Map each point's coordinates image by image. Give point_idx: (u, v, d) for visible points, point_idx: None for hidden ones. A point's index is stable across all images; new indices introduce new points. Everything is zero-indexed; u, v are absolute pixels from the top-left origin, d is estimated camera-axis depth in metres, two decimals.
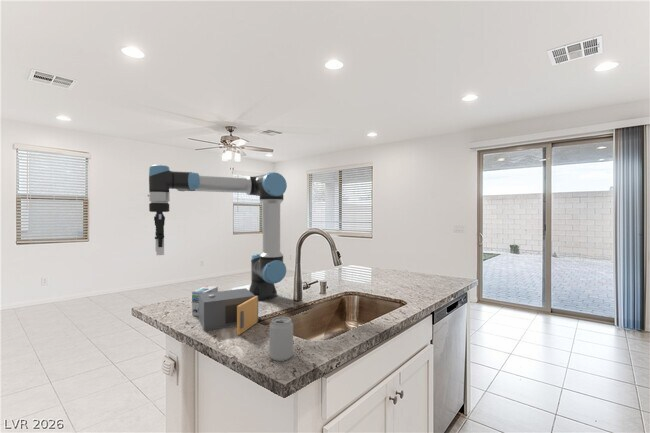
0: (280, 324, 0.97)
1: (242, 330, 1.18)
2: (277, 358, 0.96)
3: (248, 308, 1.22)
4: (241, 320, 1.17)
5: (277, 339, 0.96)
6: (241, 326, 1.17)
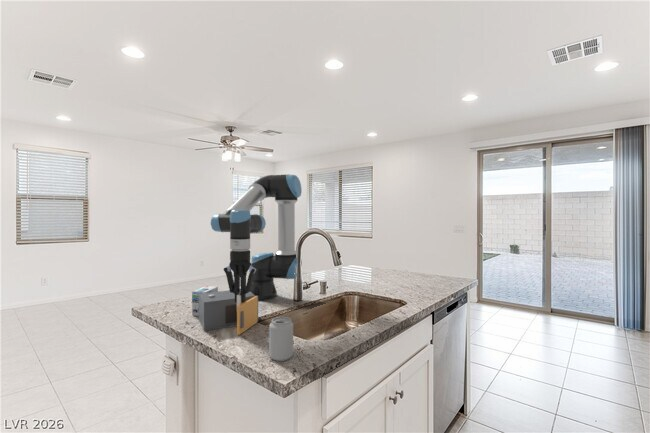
0: (280, 324, 0.97)
1: (242, 330, 1.18)
2: (277, 358, 0.96)
3: (248, 308, 1.22)
4: (241, 320, 1.17)
5: (277, 339, 0.96)
6: (241, 326, 1.17)
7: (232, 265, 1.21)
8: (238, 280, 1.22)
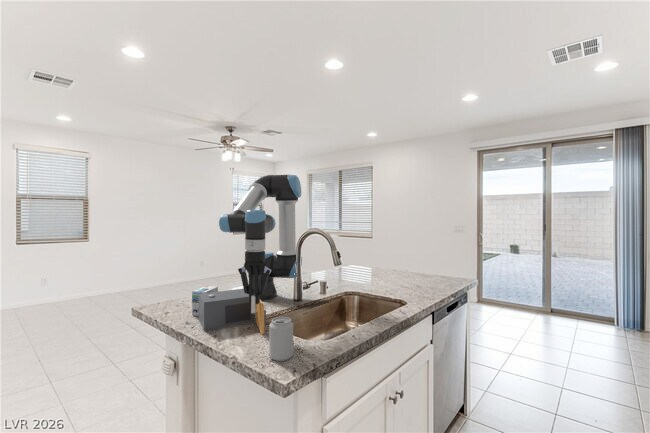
0: (280, 324, 0.97)
1: None
2: (277, 358, 0.96)
3: None
4: (264, 319, 1.18)
5: (277, 339, 0.96)
6: (264, 325, 1.18)
7: (247, 266, 1.19)
8: (253, 281, 1.20)
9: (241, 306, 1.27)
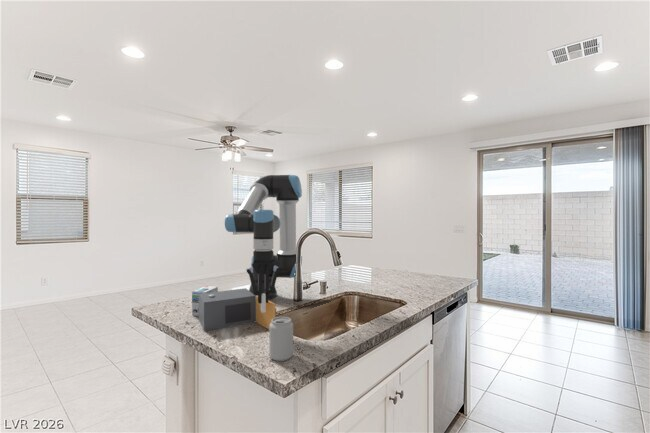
0: (280, 324, 0.97)
1: None
2: (277, 358, 0.96)
3: None
4: (275, 317, 1.20)
5: (277, 339, 0.96)
6: None
7: (256, 266, 1.19)
8: None
9: (241, 306, 1.27)
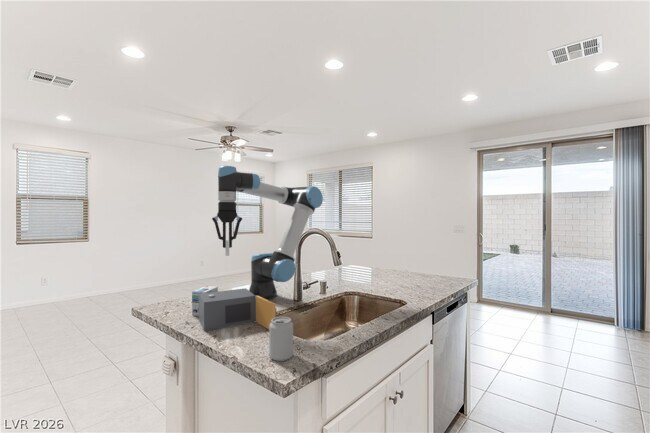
0: (280, 324, 0.97)
1: None
2: (277, 358, 0.96)
3: None
4: (275, 317, 1.20)
5: (277, 339, 0.96)
6: None
7: (221, 215, 1.37)
8: (225, 228, 1.39)
9: (241, 306, 1.27)
